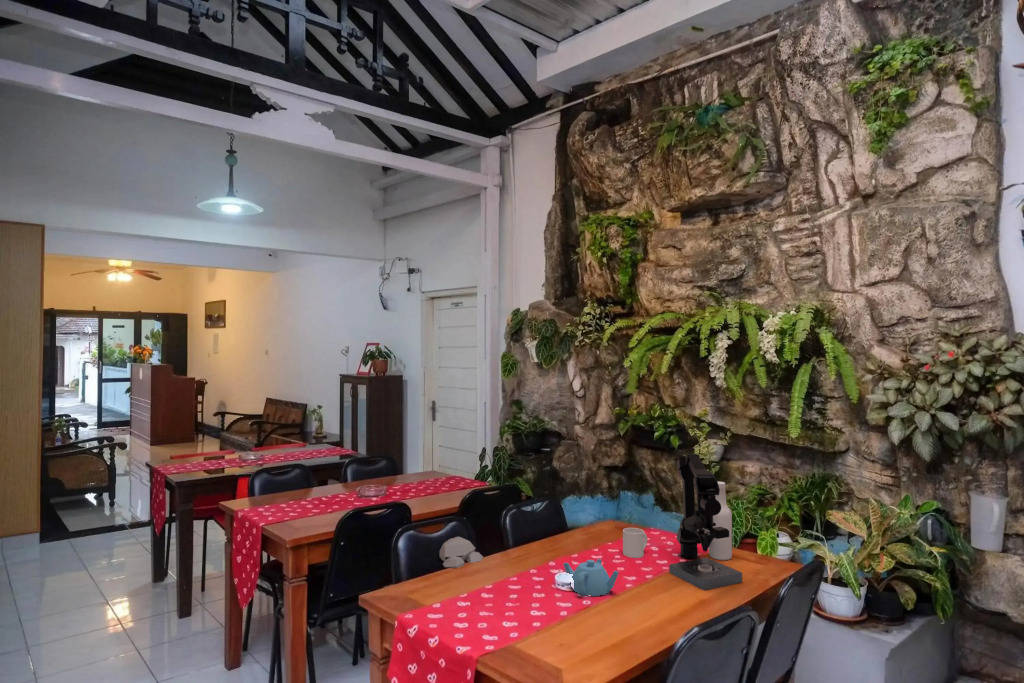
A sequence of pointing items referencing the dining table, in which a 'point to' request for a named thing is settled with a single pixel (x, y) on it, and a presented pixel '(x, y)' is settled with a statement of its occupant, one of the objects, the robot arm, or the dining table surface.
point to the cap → (705, 568)
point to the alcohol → (723, 546)
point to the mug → (634, 542)
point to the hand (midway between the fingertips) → (705, 551)
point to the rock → (458, 552)
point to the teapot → (591, 578)
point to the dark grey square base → (705, 573)
